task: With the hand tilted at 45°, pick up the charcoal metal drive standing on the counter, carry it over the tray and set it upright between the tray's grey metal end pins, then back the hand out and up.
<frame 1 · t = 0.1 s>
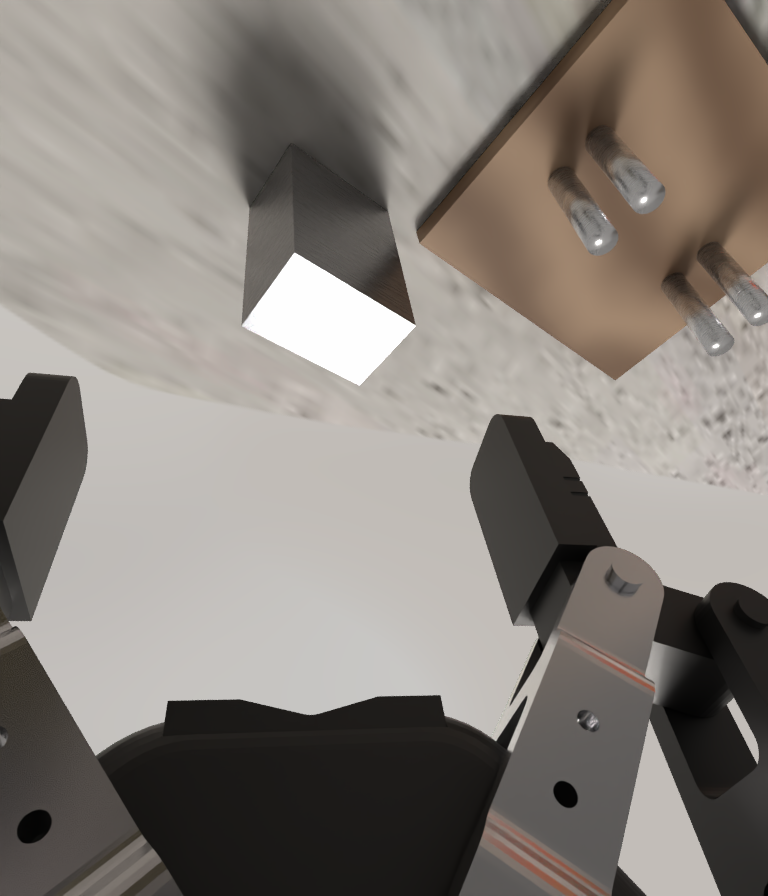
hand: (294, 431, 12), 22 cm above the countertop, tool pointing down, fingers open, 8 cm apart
drive: (319, 210, 32), on the countertop
pin tray: (631, 208, 34), on the countertop
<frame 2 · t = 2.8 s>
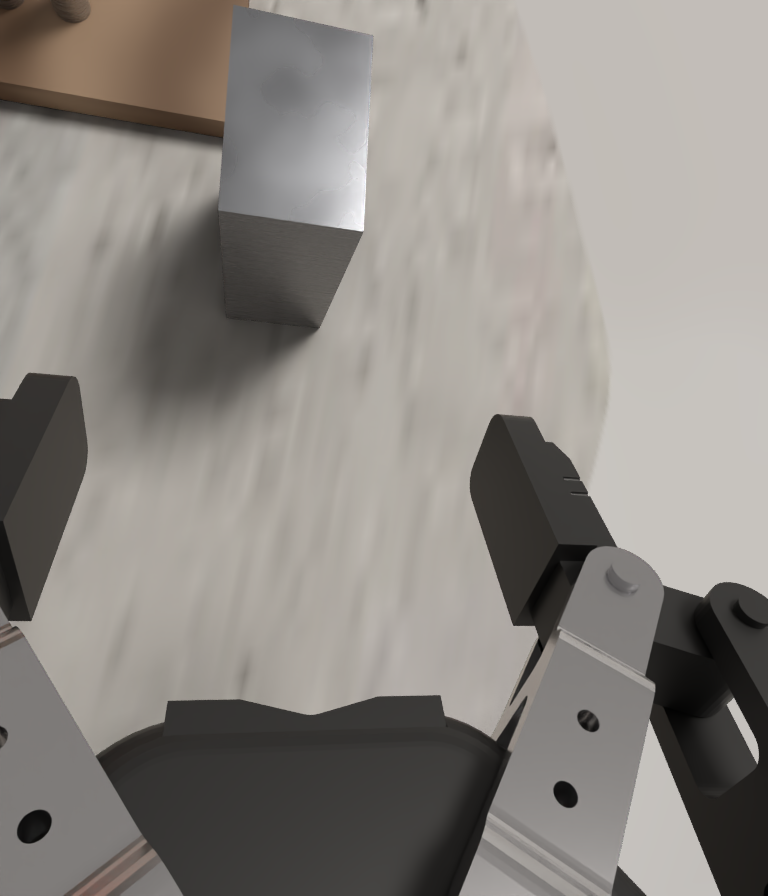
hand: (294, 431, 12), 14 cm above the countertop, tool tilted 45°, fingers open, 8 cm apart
drive: (278, 256, 27), on the countertop
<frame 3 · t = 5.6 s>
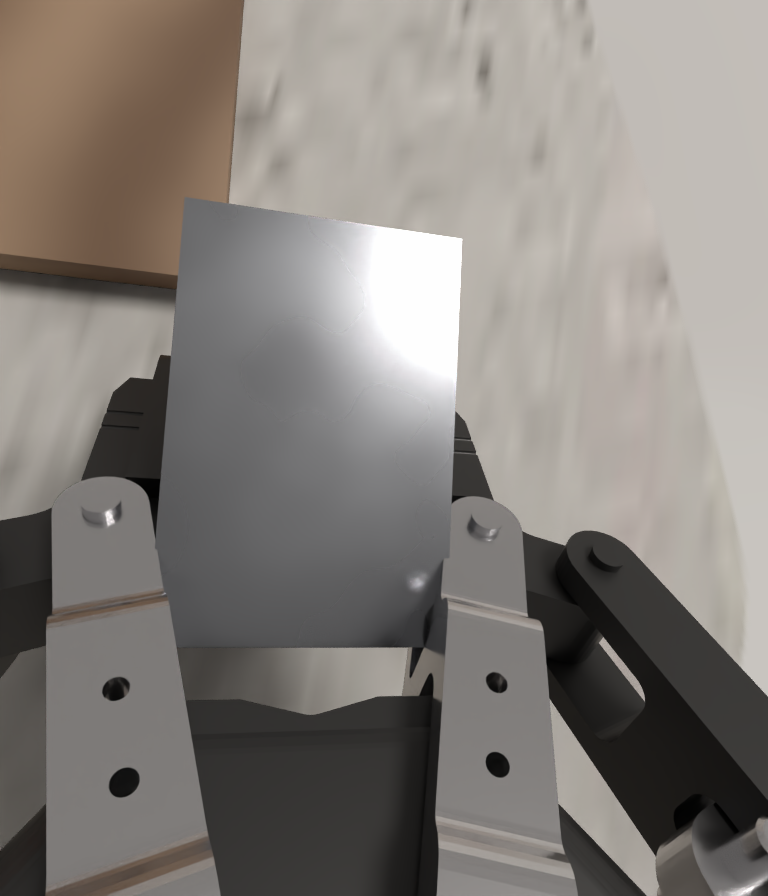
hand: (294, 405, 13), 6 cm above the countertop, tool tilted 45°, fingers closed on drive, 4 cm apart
drive: (278, 465, 18), on the countertop, touching gripper
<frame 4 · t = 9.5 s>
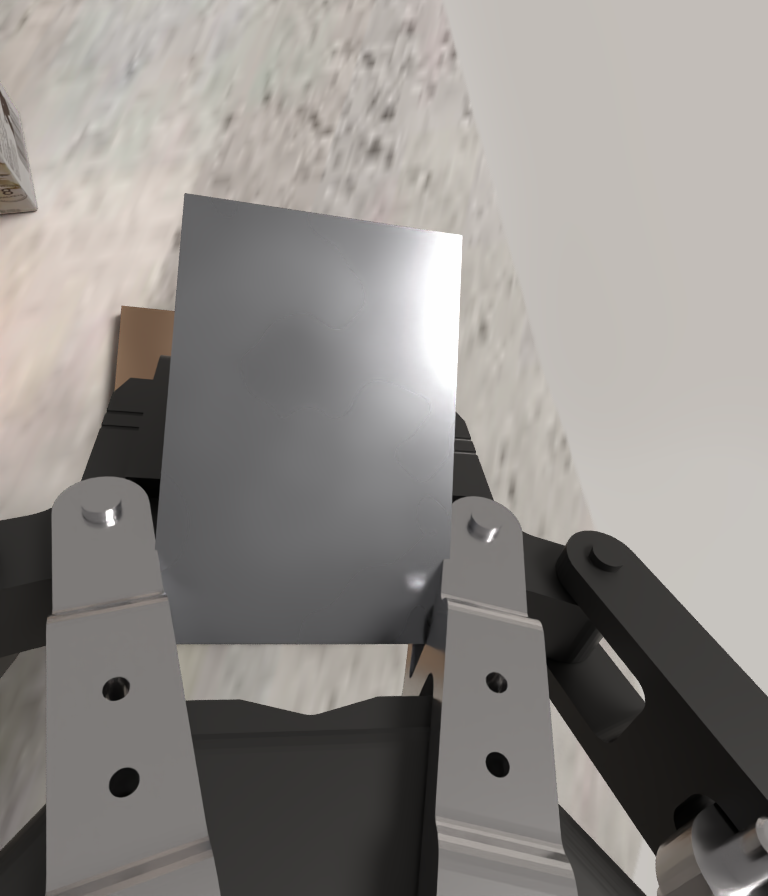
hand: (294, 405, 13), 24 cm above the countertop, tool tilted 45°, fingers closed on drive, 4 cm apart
drive: (278, 463, 18), point 18 cm above the countertop, touching gripper
pin tray: (258, 476, 36), on the countertop
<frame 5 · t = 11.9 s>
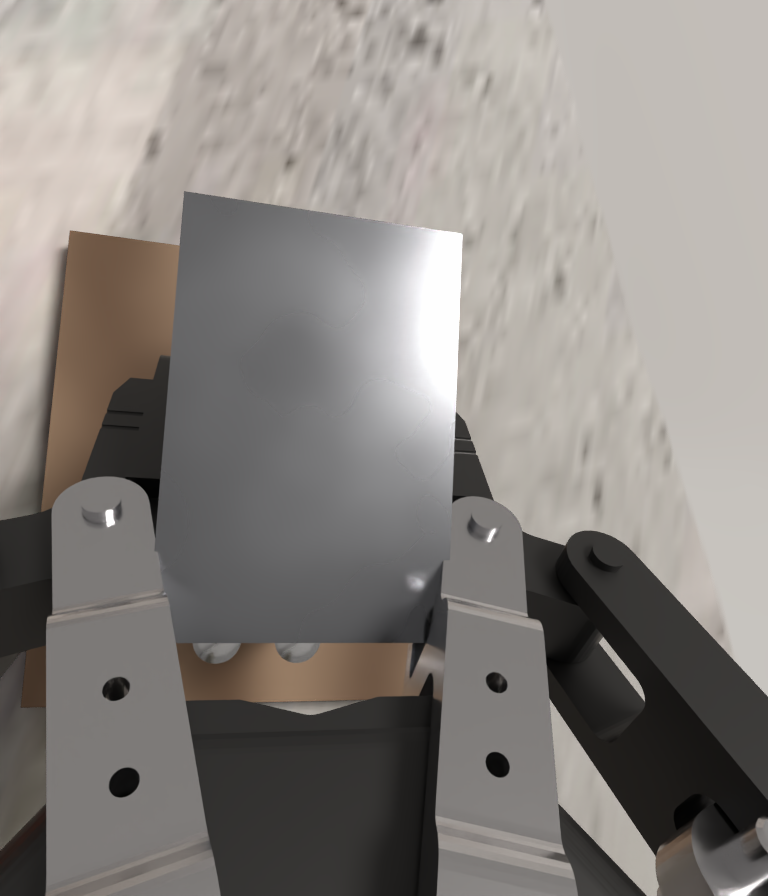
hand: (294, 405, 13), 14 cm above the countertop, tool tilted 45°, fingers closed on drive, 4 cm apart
drive: (278, 463, 18), point 8 cm above the countertop, touching gripper
pin tray: (261, 474, 26), on the countertop
when the fingers open (8 cm above the countertop, at t = 13.6 s): drive drops 2 cm, resting on pin tray.
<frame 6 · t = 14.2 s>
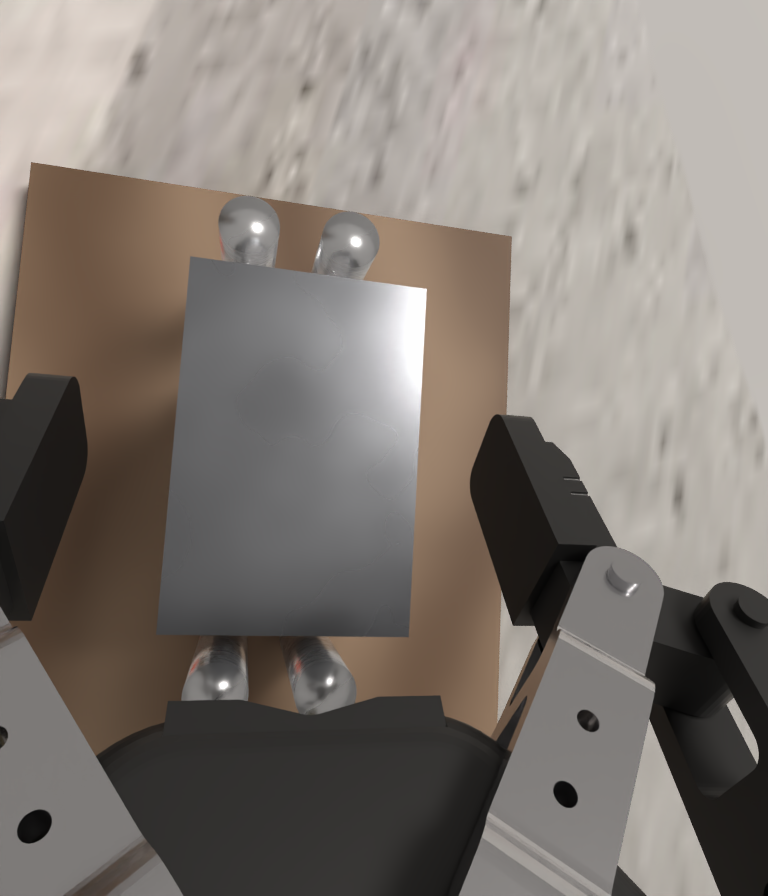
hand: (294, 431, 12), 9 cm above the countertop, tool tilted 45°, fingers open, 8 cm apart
drive: (272, 474, 20), point 1 cm above the countertop, touching pin tray
pin tray: (272, 470, 21), on the countertop
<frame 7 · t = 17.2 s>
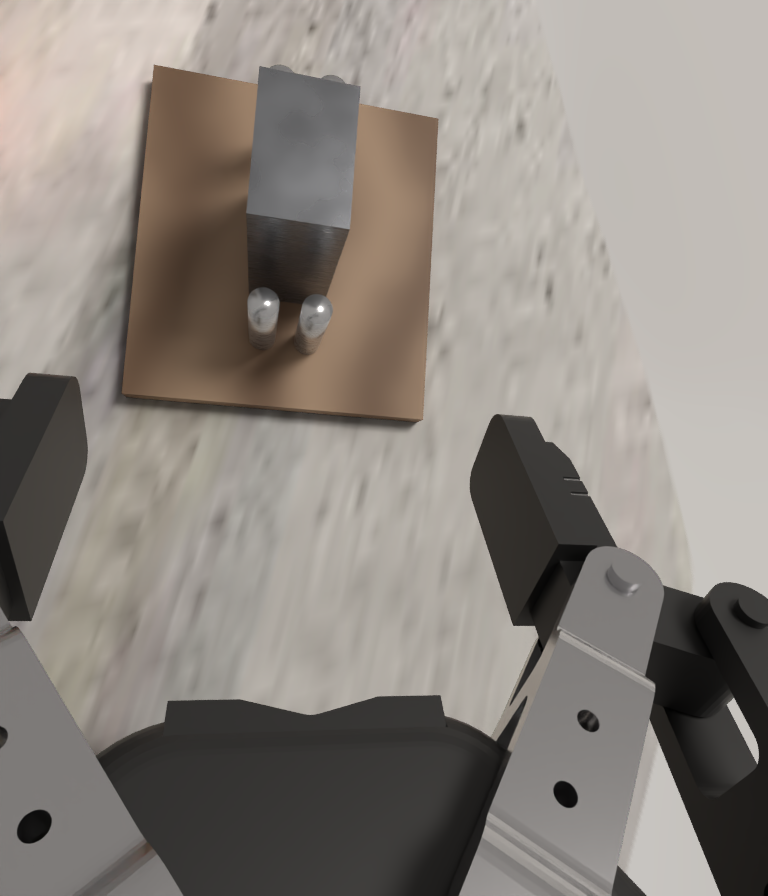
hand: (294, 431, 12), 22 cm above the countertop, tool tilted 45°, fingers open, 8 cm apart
drive: (290, 249, 34), point 1 cm above the countertop, touching pin tray
pin tray: (290, 254, 35), on the countertop
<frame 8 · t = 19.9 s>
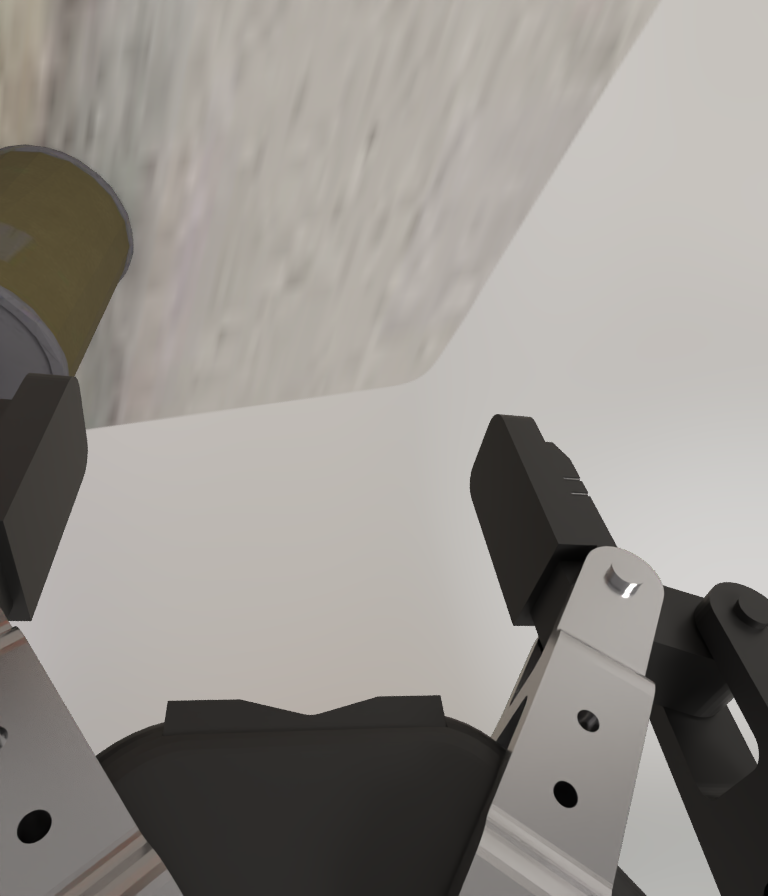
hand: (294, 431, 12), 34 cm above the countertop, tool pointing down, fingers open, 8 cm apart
canister: (49, 225, 42), on the countertop
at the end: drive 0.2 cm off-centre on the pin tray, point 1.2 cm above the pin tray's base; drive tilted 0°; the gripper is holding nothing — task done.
